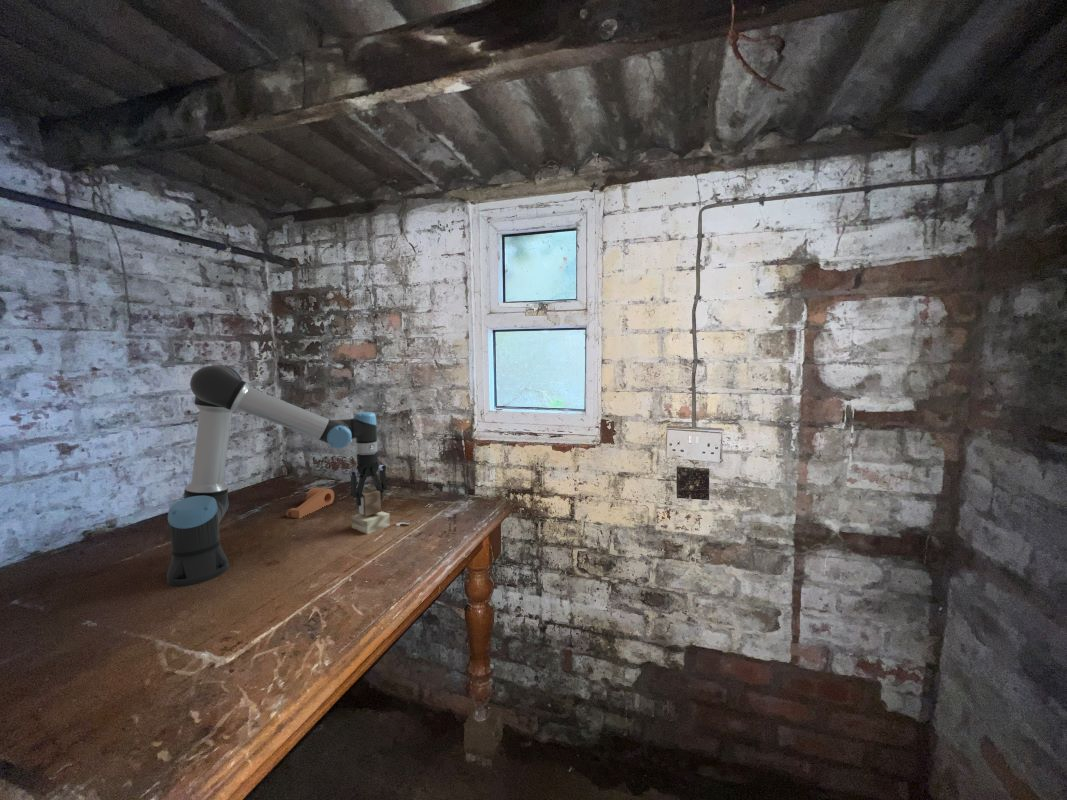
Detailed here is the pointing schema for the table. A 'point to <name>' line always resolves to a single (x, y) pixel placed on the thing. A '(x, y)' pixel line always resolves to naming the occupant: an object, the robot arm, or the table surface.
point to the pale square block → (370, 522)
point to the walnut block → (371, 501)
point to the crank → (312, 502)
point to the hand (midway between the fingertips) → (370, 510)
